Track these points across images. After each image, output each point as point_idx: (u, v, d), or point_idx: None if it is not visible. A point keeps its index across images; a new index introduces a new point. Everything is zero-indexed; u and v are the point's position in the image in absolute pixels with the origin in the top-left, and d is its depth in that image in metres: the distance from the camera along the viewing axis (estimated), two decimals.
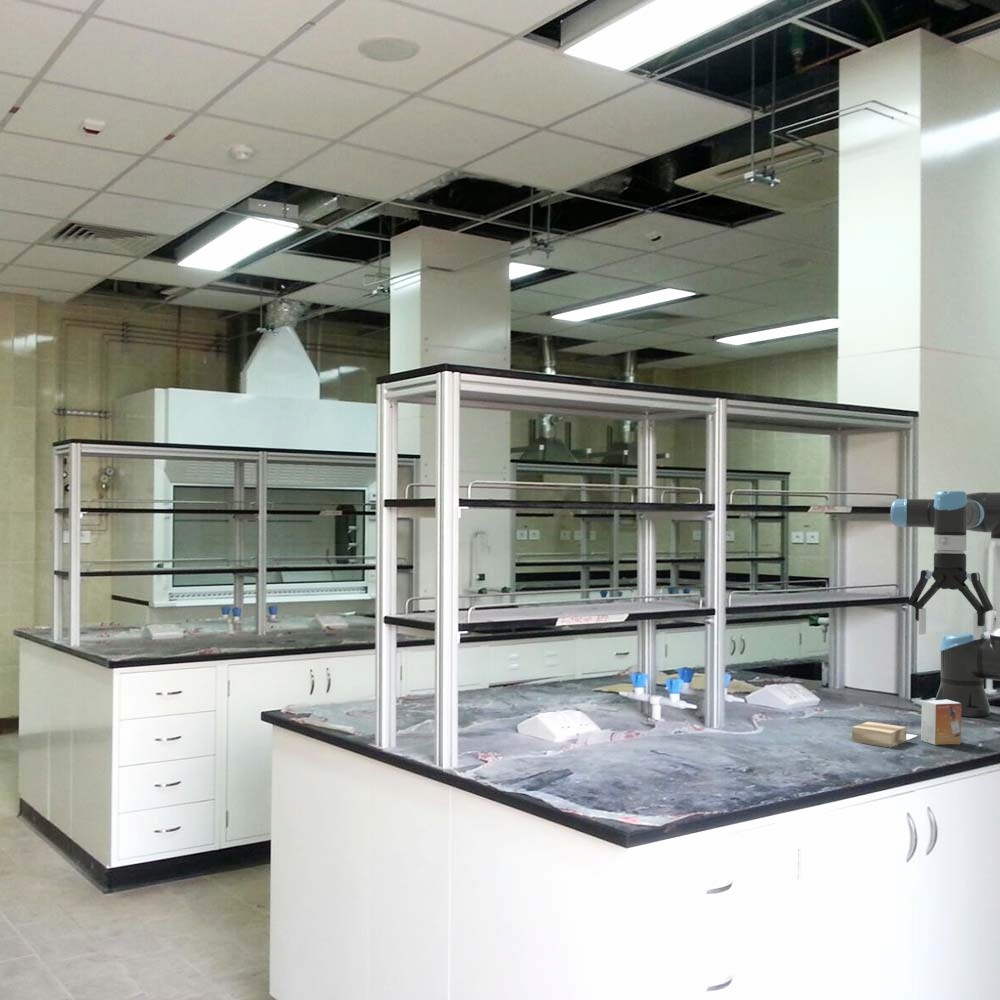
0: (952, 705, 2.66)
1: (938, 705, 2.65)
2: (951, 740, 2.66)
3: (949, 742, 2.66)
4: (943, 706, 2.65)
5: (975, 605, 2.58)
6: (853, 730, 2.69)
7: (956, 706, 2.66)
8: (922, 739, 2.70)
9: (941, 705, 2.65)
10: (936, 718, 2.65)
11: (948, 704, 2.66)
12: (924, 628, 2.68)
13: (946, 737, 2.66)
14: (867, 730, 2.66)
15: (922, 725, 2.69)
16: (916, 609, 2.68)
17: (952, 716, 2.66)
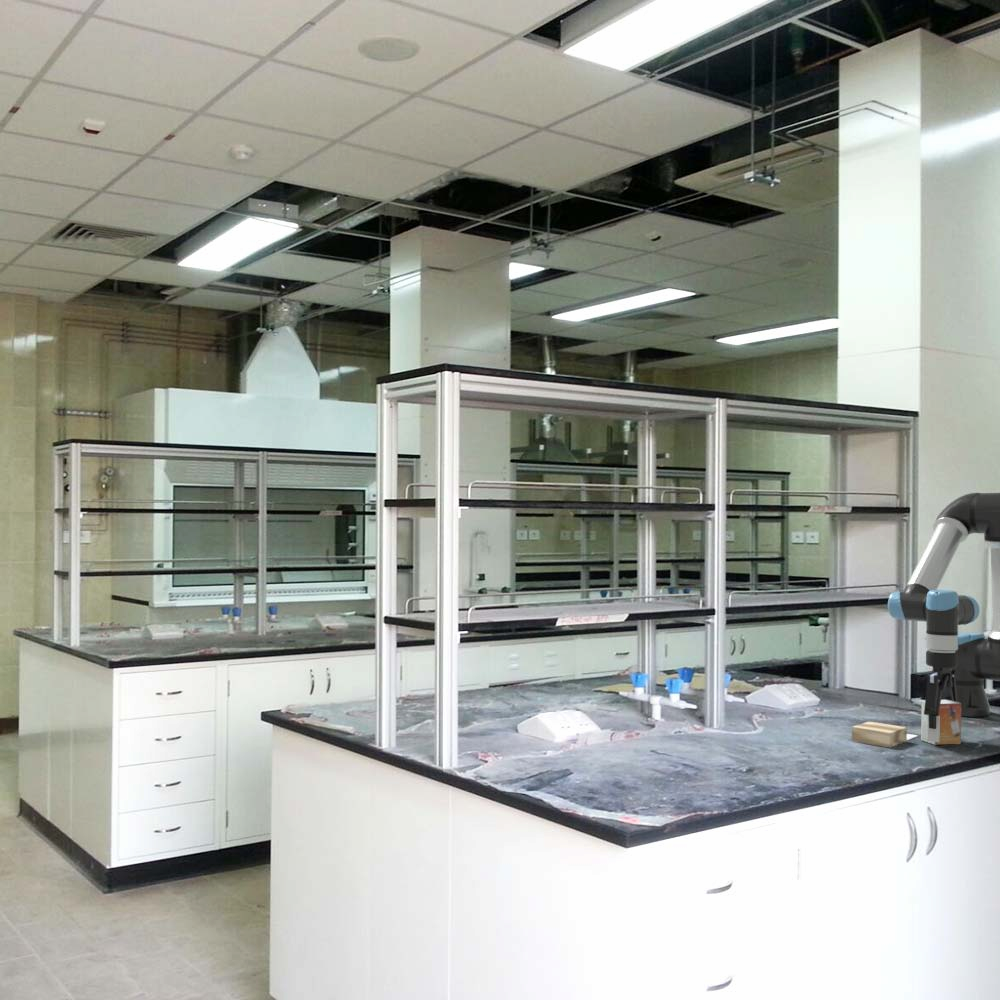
0: (952, 705, 2.66)
1: None
2: (951, 740, 2.66)
3: (949, 742, 2.66)
4: (943, 706, 2.65)
5: None
6: (853, 730, 2.69)
7: (956, 706, 2.66)
8: (921, 739, 2.70)
9: (941, 705, 2.65)
10: None
11: (948, 704, 2.66)
12: None
13: (946, 737, 2.66)
14: (866, 730, 2.66)
15: (922, 725, 2.69)
16: None
17: (952, 716, 2.66)
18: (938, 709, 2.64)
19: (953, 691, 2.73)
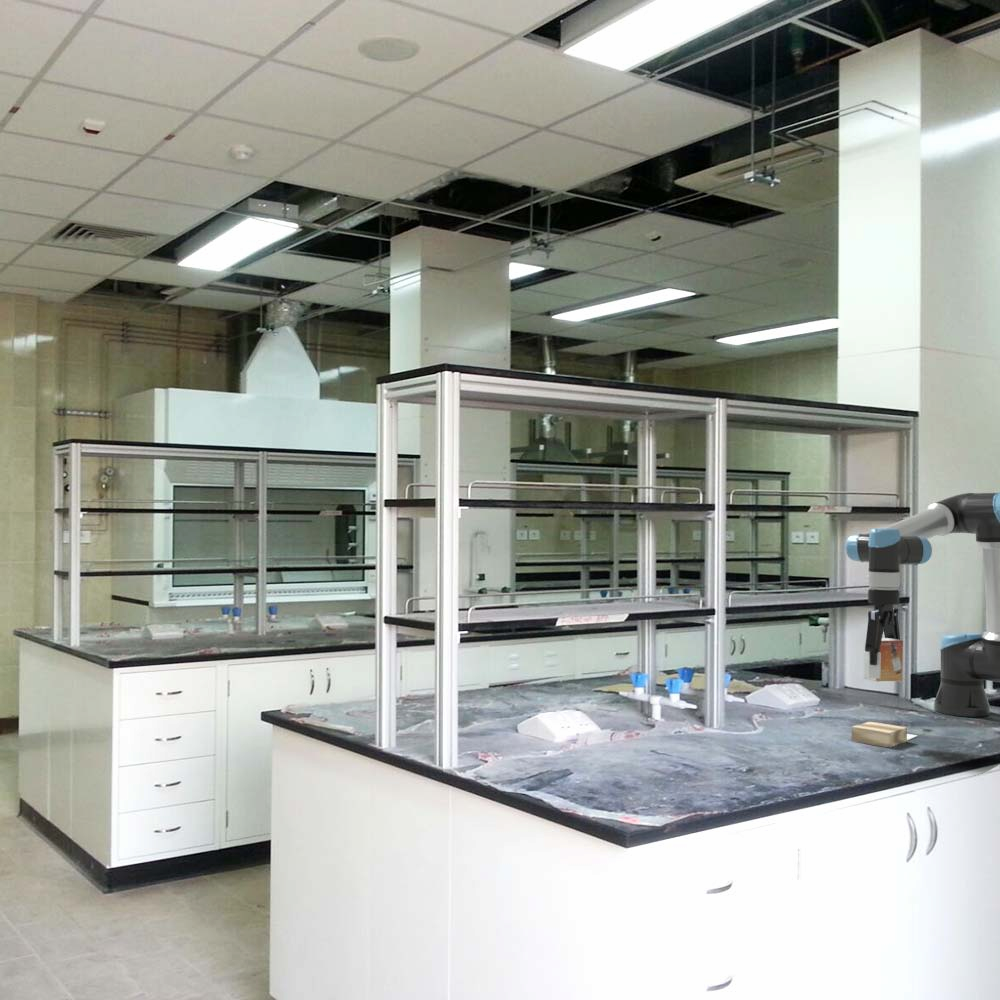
0: (893, 642, 2.67)
1: None
2: (892, 677, 2.67)
3: (890, 679, 2.66)
4: (884, 642, 2.66)
5: None
6: (852, 730, 2.69)
7: (897, 643, 2.67)
8: (864, 677, 2.70)
9: (882, 642, 2.66)
10: None
11: (889, 641, 2.67)
12: None
13: (887, 674, 2.66)
14: (866, 730, 2.66)
15: (864, 663, 2.70)
16: None
17: (893, 653, 2.67)
18: (879, 645, 2.64)
19: (895, 630, 2.73)
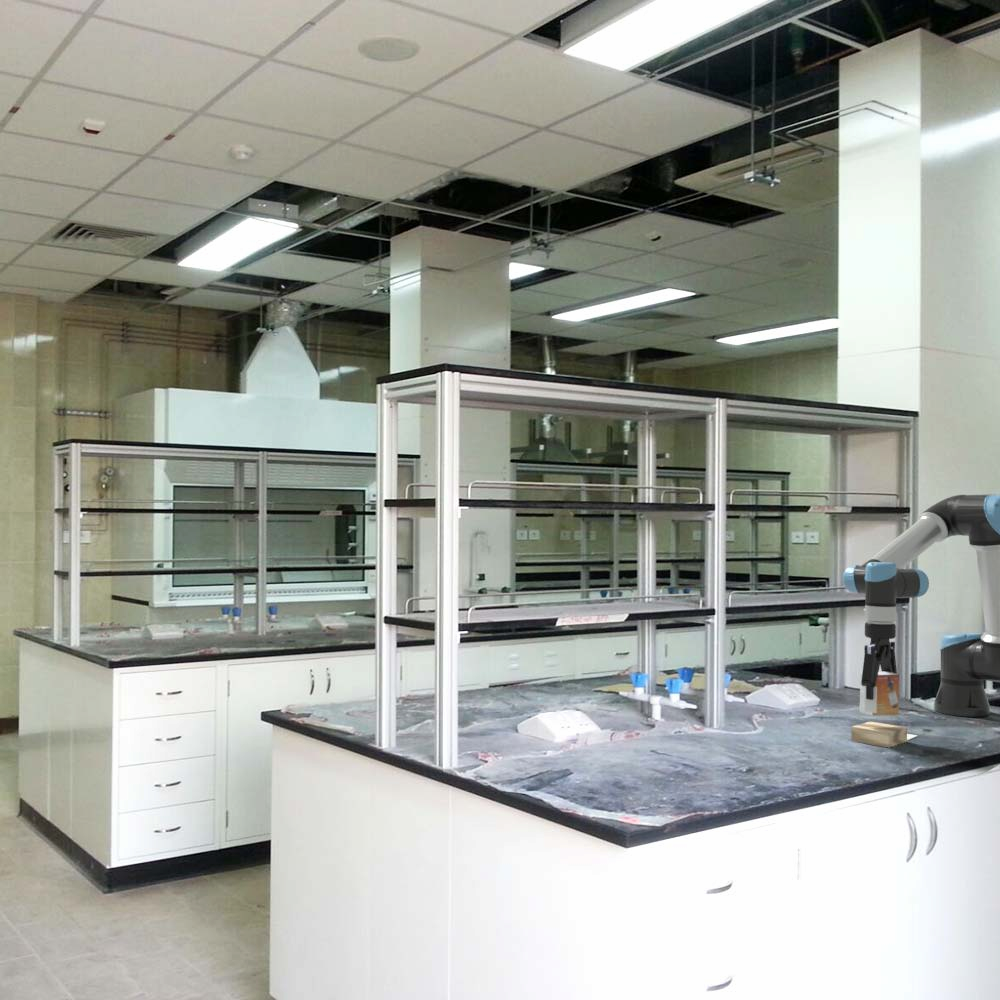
0: (890, 676, 2.67)
1: None
2: (888, 711, 2.67)
3: (887, 713, 2.67)
4: (880, 677, 2.66)
5: None
6: (852, 730, 2.69)
7: (894, 677, 2.67)
8: (860, 711, 2.70)
9: (879, 676, 2.66)
10: None
11: (886, 675, 2.67)
12: None
13: (884, 708, 2.66)
14: (866, 730, 2.66)
15: (861, 696, 2.70)
16: None
17: (890, 687, 2.67)
18: (875, 680, 2.64)
19: (892, 663, 2.73)
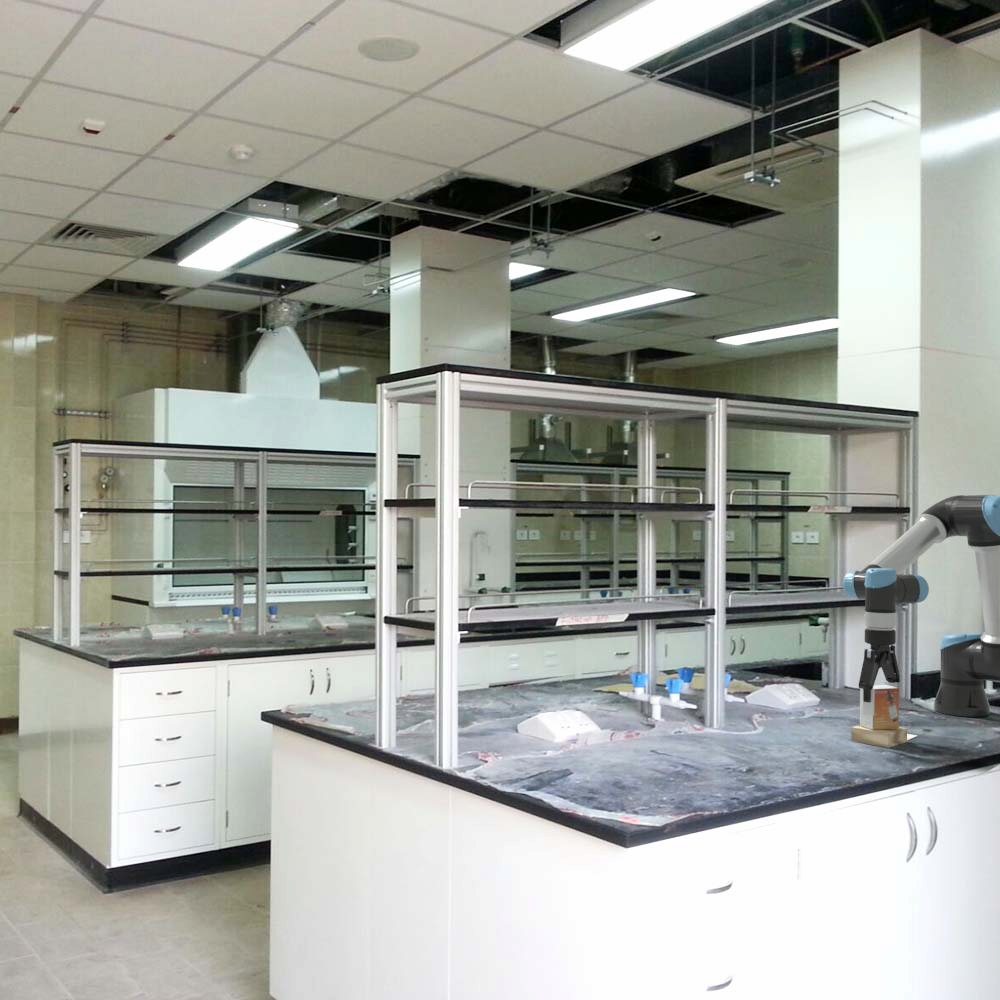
0: (890, 690, 2.67)
1: (875, 690, 2.66)
2: (888, 725, 2.67)
3: (887, 727, 2.67)
4: (880, 690, 2.66)
5: None
6: (852, 730, 2.69)
7: (893, 691, 2.67)
8: (860, 724, 2.70)
9: (878, 690, 2.66)
10: (874, 703, 2.66)
11: (886, 689, 2.67)
12: None
13: (884, 722, 2.67)
14: (866, 730, 2.66)
15: (861, 710, 2.70)
16: None
17: (889, 701, 2.67)
18: (873, 683, 2.63)
19: (894, 666, 2.74)
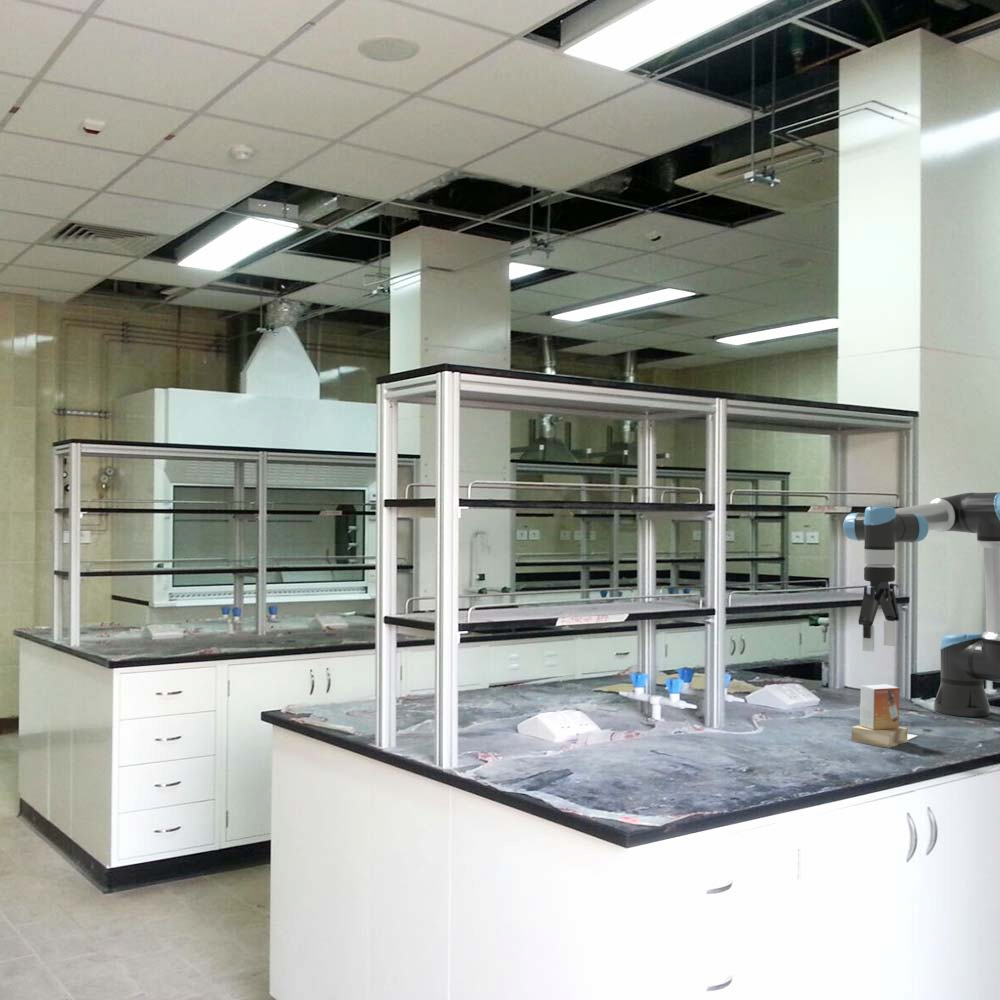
0: (890, 690, 2.67)
1: (876, 690, 2.65)
2: (889, 724, 2.67)
3: (887, 726, 2.67)
4: (881, 690, 2.66)
5: None
6: (852, 730, 2.69)
7: (894, 691, 2.67)
8: (860, 724, 2.70)
9: (879, 690, 2.66)
10: (874, 703, 2.65)
11: (886, 689, 2.67)
12: (891, 640, 2.75)
13: (884, 721, 2.66)
14: (866, 730, 2.66)
15: (861, 710, 2.70)
16: None
17: (890, 701, 2.67)
18: (873, 619, 2.64)
19: (893, 604, 2.75)
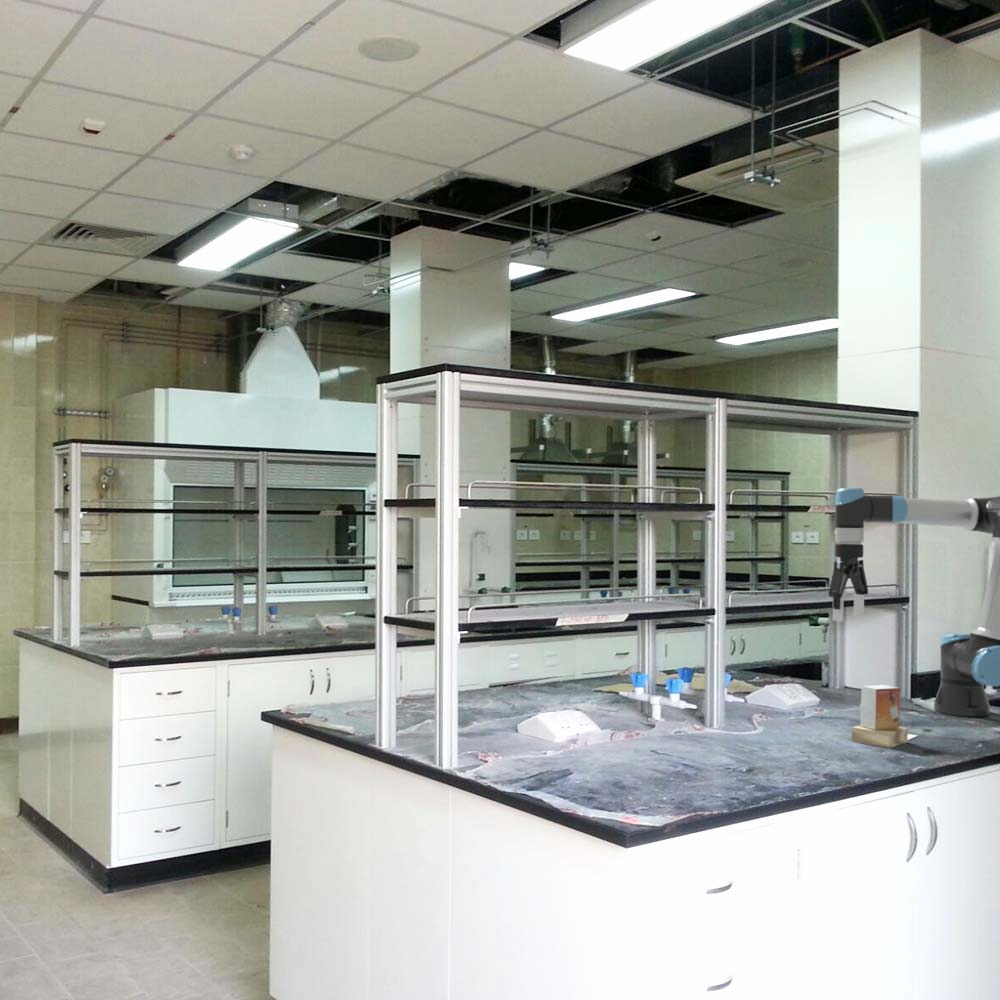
0: (891, 690, 2.67)
1: (878, 690, 2.65)
2: (890, 725, 2.67)
3: (888, 727, 2.66)
4: (883, 691, 2.66)
5: None
6: (853, 730, 2.68)
7: (895, 691, 2.67)
8: (861, 725, 2.70)
9: (881, 690, 2.66)
10: (876, 703, 2.65)
11: (888, 689, 2.66)
12: (860, 612, 2.97)
13: (886, 722, 2.66)
14: (866, 731, 2.66)
15: (862, 710, 2.69)
16: None
17: (891, 701, 2.67)
18: (842, 592, 2.87)
19: (862, 579, 2.97)
